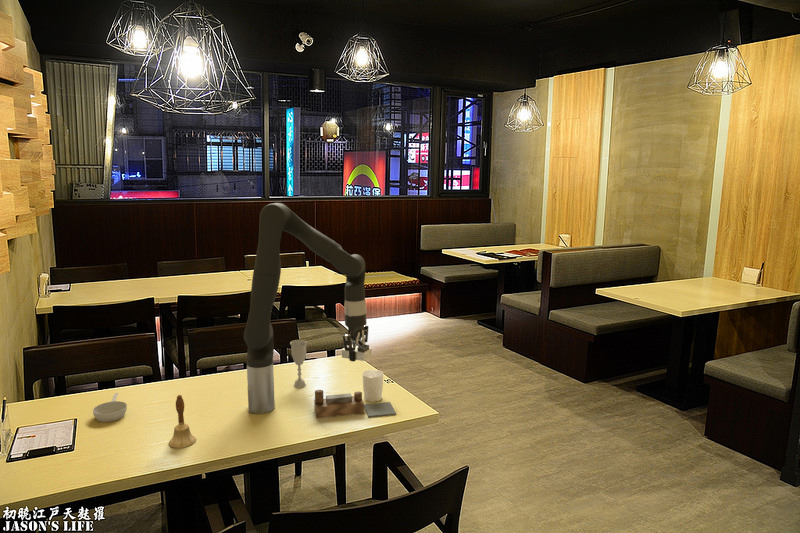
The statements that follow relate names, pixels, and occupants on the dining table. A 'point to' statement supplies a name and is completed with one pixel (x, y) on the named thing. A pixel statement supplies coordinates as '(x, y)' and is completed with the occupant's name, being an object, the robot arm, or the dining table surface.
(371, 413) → the slate mat
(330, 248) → the robot arm
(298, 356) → the chalice
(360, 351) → the lever cap
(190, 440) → the hand bell
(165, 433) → the dining table surface
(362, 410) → the plane body
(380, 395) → the white cup
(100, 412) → the pan
